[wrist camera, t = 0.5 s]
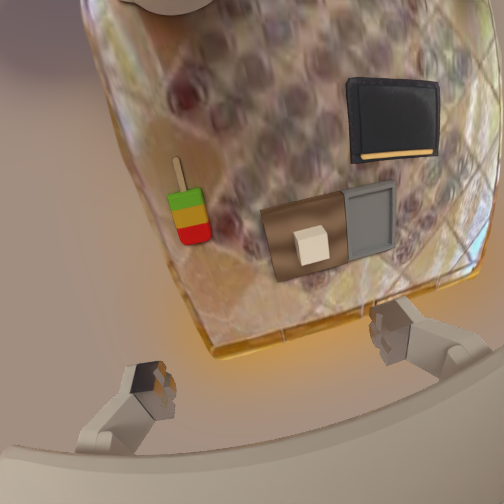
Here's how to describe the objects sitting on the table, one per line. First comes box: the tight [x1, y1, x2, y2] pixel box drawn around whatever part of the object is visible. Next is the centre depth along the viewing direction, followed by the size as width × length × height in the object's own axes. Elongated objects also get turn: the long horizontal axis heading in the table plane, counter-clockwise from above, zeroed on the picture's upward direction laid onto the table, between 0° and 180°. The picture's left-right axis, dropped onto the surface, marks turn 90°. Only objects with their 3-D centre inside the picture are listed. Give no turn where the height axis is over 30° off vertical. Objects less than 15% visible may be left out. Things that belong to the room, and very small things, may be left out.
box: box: [341, 180, 396, 261], centre depth 53 cm, size 14×10×2 cm
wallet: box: [346, 77, 440, 164], centre depth 44 cm, size 20×2×15 cm
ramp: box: [260, 191, 348, 282], centre depth 53 cm, size 14×14×2 cm
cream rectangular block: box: [293, 225, 330, 266], centre depth 51 cm, size 5×5×3 cm
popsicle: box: [167, 157, 212, 245], centre depth 48 cm, size 6×15×2 cm, turn 9°
